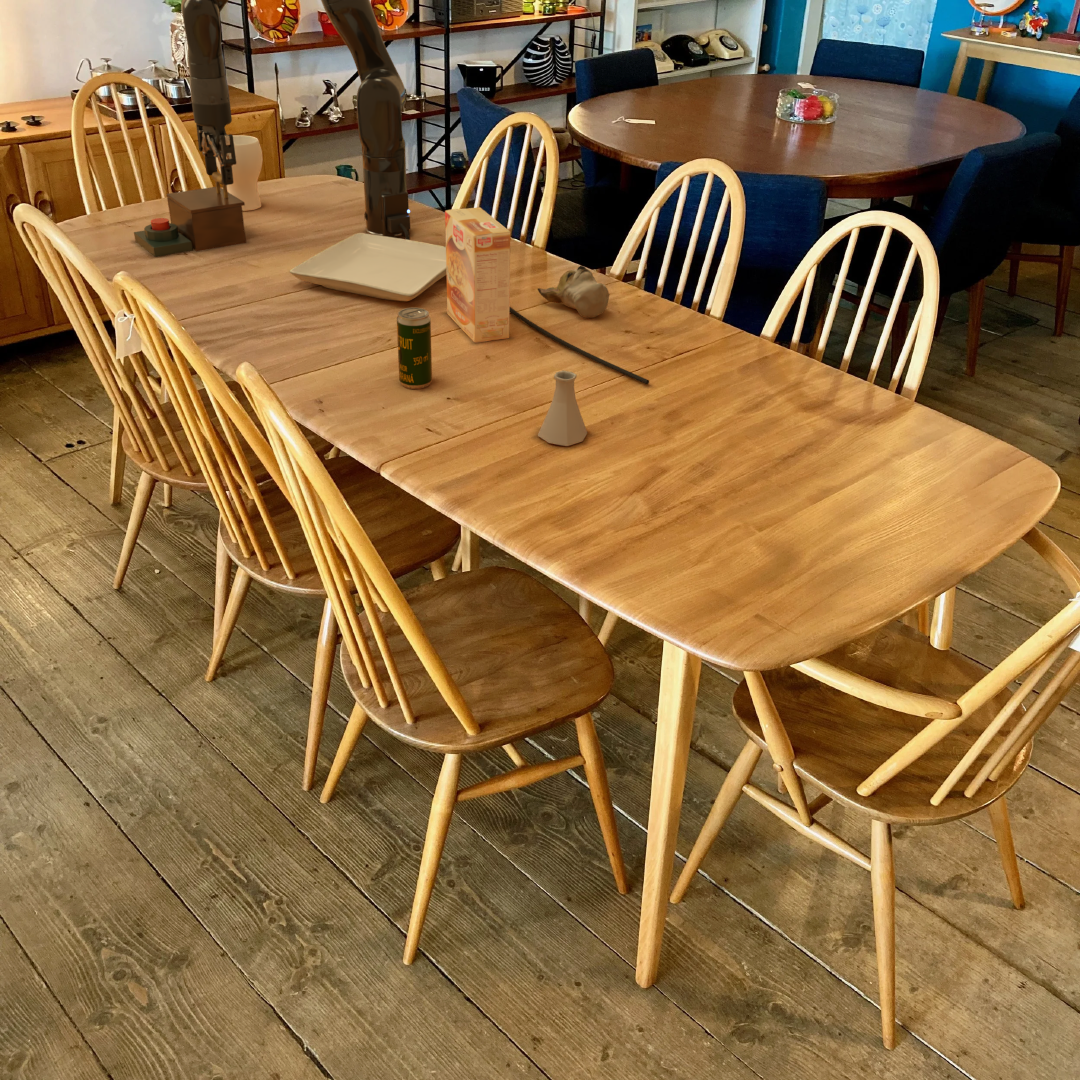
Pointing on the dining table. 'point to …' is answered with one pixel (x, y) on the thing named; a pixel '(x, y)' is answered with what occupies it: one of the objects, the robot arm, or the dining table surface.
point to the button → (160, 224)
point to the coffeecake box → (478, 273)
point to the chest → (209, 226)
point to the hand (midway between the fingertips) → (220, 179)
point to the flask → (563, 414)
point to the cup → (246, 171)
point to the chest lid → (206, 198)
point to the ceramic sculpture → (579, 292)
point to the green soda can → (414, 348)
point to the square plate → (376, 266)
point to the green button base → (163, 241)
